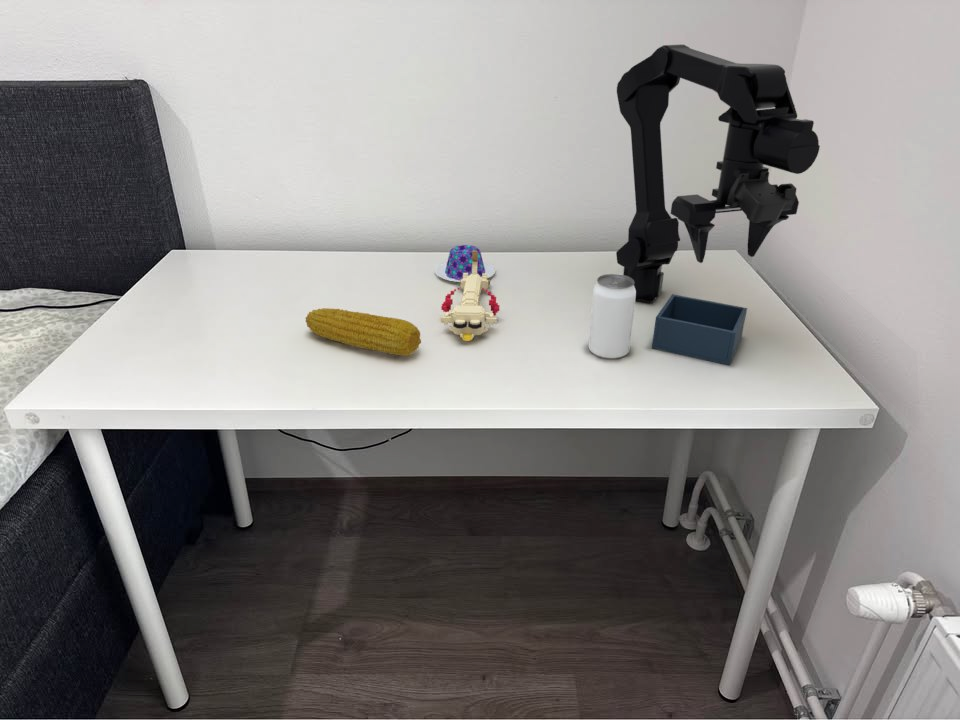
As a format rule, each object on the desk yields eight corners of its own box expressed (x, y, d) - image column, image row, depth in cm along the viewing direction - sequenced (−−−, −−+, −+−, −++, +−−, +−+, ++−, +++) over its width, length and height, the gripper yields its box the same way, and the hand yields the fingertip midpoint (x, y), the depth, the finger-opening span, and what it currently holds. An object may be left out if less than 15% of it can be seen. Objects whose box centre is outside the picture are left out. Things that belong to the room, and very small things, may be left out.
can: (633, 345, 114) (641, 276, 109) (623, 363, 109) (631, 291, 103) (595, 338, 117) (601, 270, 111) (583, 355, 112) (588, 284, 106)
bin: (651, 348, 114) (655, 316, 111) (667, 323, 121) (672, 294, 119) (729, 365, 109) (735, 333, 106) (741, 338, 117) (747, 308, 114)
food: (425, 350, 113) (423, 316, 110) (407, 366, 108) (405, 331, 105) (316, 326, 121) (312, 294, 118) (296, 340, 116) (291, 307, 113)
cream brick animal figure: (449, 292, 137) (436, 341, 114) (449, 247, 133) (435, 289, 110) (500, 293, 136) (497, 342, 113) (501, 248, 133) (498, 291, 110)
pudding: (441, 262, 147) (440, 237, 145) (498, 264, 146) (498, 240, 143) (430, 283, 137) (429, 258, 134) (491, 287, 136) (491, 261, 133)
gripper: (719, 176, 94) (701, 285, 101) (836, 166, 98) (810, 271, 106) (676, 157, 103) (662, 258, 111) (784, 149, 108) (763, 246, 115)
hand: (725, 259), depth 110 cm, fingers open, 9 cm apart
